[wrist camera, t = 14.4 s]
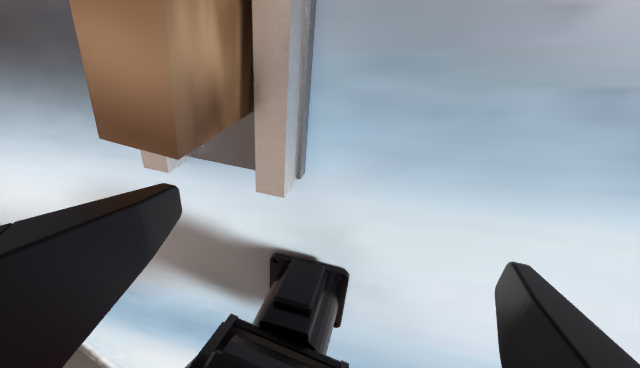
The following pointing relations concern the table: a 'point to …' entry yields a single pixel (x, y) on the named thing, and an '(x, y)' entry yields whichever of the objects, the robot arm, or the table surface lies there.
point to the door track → (268, 102)
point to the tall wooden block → (165, 69)
